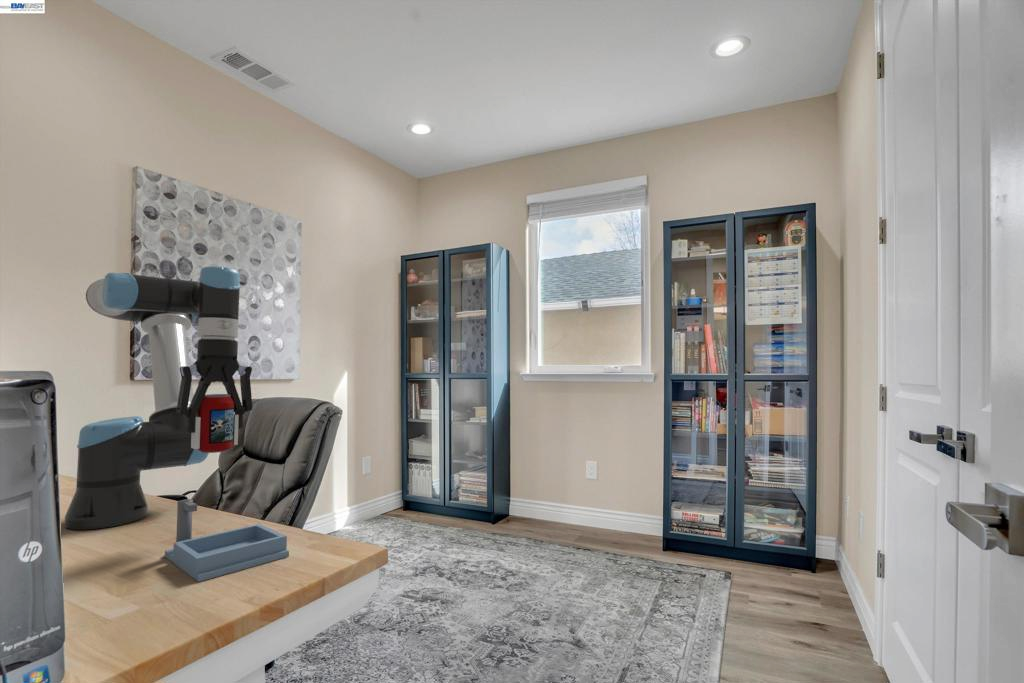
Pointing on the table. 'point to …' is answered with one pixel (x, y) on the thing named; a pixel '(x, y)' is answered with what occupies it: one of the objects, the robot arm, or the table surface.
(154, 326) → the robot arm
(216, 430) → the beverage can
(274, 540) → the light blue hollow tray
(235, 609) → the table surface
